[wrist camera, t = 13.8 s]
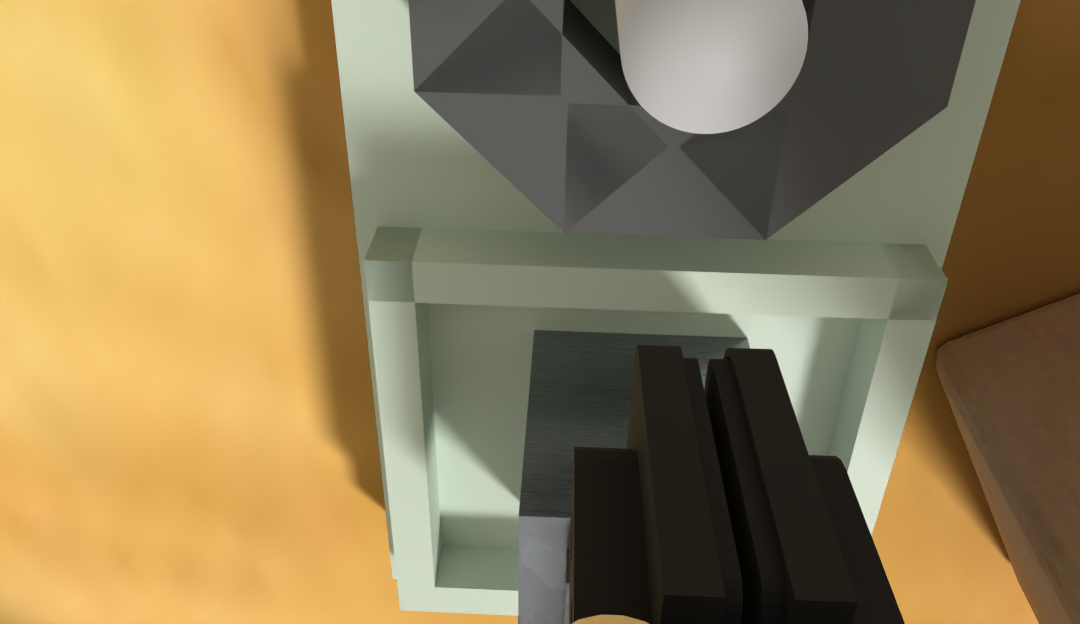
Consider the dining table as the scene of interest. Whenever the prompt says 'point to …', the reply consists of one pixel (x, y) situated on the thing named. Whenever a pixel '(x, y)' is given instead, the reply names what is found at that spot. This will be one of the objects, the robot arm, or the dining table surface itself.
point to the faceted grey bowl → (667, 153)
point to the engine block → (575, 444)
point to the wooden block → (1026, 443)
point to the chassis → (627, 271)
